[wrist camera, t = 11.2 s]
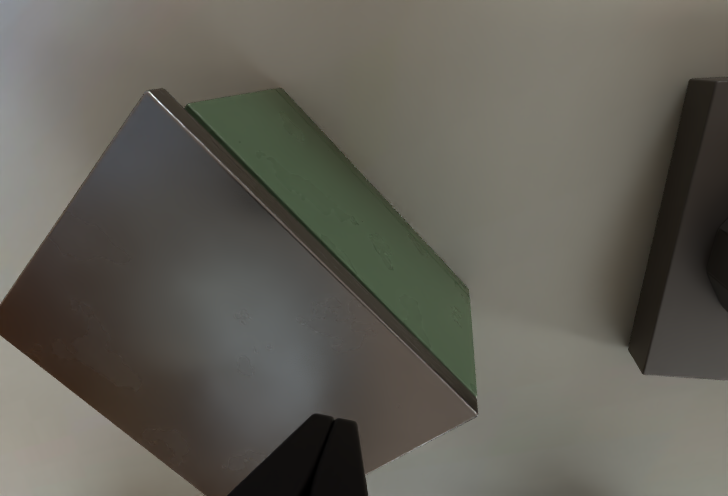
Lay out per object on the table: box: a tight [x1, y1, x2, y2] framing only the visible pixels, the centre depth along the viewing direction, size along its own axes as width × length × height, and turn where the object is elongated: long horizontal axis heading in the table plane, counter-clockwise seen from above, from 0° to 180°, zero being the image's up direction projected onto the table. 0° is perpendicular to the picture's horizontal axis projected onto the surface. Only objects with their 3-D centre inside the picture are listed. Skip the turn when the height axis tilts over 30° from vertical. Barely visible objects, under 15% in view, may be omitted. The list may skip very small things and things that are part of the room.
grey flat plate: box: [0, 88, 478, 496], centre depth 15 cm, size 13×12×1 cm
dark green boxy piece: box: [184, 88, 477, 397], centre depth 19 cm, size 13×12×7 cm
